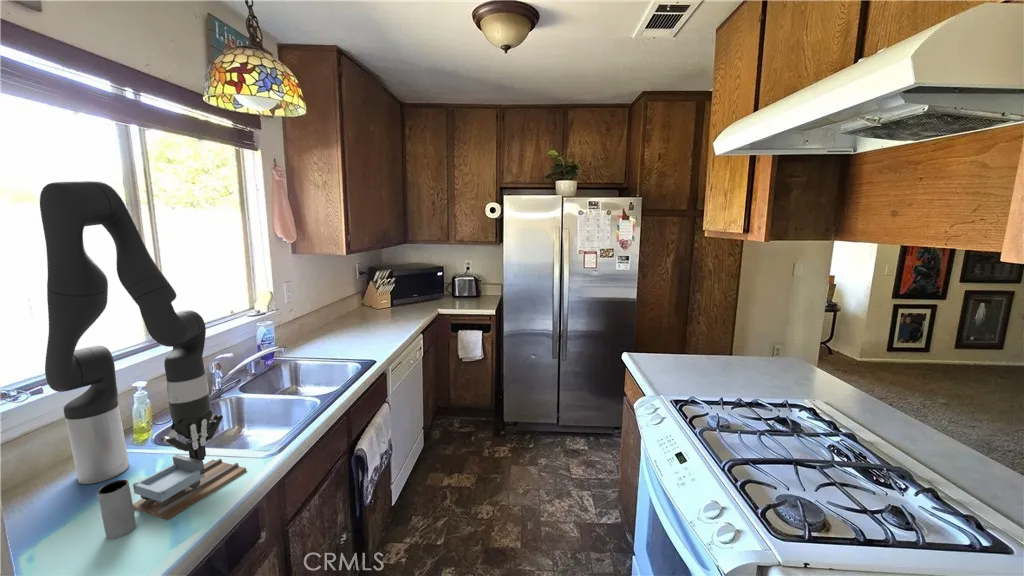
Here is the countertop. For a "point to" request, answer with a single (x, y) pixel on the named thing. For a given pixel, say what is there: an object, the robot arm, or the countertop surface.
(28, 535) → the countertop surface
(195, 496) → the rail board
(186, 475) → the grey open box
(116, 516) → the grey cylindrical cup
